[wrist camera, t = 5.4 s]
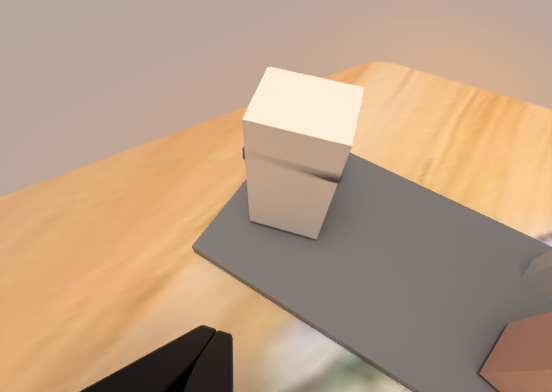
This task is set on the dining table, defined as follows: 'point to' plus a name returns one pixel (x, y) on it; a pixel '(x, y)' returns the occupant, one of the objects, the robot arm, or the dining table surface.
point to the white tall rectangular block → (297, 148)
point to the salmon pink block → (522, 357)
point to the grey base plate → (393, 276)
